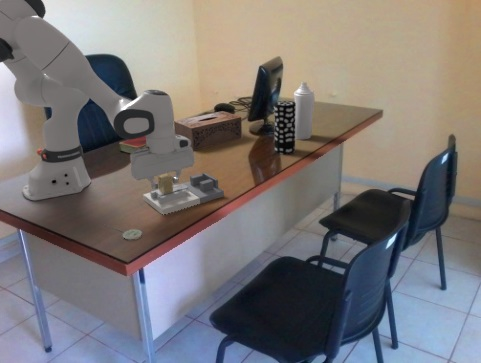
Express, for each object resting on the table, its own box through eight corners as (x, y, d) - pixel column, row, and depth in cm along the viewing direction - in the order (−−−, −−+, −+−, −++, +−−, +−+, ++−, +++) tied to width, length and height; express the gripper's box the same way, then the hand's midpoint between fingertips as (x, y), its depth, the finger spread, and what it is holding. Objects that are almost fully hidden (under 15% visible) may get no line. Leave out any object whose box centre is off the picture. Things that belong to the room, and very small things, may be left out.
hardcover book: (119, 151, 198) (118, 142, 197) (155, 138, 214) (154, 129, 212) (138, 156, 192) (137, 146, 190) (174, 143, 207) (173, 134, 205)
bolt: (160, 201, 145) (158, 180, 142) (155, 197, 147) (153, 176, 145) (188, 192, 150) (187, 172, 147) (183, 189, 153) (181, 169, 150)
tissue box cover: (223, 131, 220) (222, 111, 216) (241, 138, 209) (241, 117, 206) (175, 143, 206) (174, 121, 202) (193, 151, 195) (191, 128, 192)
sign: (110, 219, 138) (145, 232, 130) (110, 222, 139) (146, 234, 130) (95, 226, 134) (131, 240, 126) (96, 229, 135) (132, 242, 127)
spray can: (320, 137, 207) (322, 80, 198) (305, 143, 200) (307, 84, 190) (299, 132, 215) (300, 77, 205) (284, 137, 208) (285, 81, 198)
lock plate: (163, 215, 141) (161, 200, 139) (143, 200, 151) (141, 185, 149) (223, 196, 152) (223, 182, 150) (201, 183, 163) (200, 169, 161)
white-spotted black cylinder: (297, 149, 193) (298, 101, 185) (291, 155, 186) (291, 106, 178) (278, 147, 196) (278, 100, 188) (271, 153, 189) (271, 104, 182)
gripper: (133, 153, 133) (139, 197, 138) (195, 139, 144) (198, 180, 149) (124, 148, 138) (130, 190, 143) (185, 134, 148) (188, 175, 154)
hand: (165, 185), depth 146 cm, fingers open, 6 cm apart
